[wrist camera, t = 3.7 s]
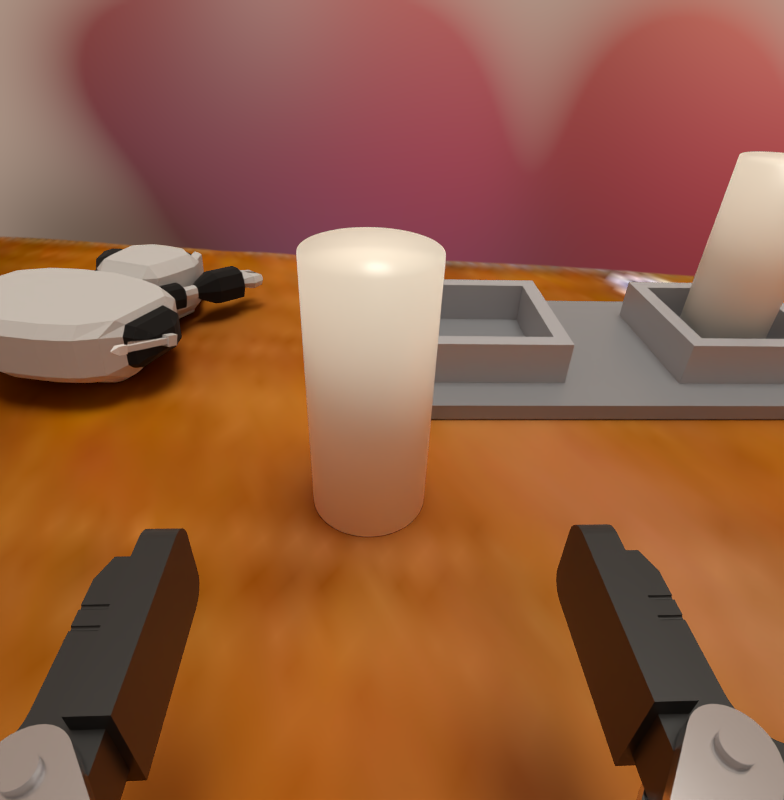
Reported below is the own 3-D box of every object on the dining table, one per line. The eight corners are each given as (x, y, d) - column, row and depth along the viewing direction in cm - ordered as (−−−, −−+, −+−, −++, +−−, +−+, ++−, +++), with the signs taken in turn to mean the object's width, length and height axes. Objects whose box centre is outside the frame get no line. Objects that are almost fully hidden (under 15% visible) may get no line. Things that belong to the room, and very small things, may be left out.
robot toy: (124, 290, 39) (-86, 382, 27) (111, 226, 37) (-125, 295, 25) (278, 317, 37) (124, 433, 24) (274, 250, 34) (102, 341, 22)
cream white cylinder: (419, 457, 24) (436, 228, 18) (429, 535, 20) (455, 279, 14) (317, 458, 23) (303, 225, 18) (309, 537, 20) (287, 277, 14)
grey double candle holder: (719, 313, 37) (790, 140, 31) (848, 419, 27) (991, 195, 21) (397, 310, 36) (404, 129, 30) (409, 419, 26) (425, 182, 20)
